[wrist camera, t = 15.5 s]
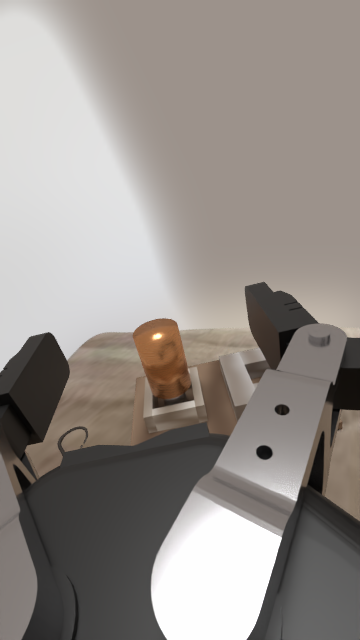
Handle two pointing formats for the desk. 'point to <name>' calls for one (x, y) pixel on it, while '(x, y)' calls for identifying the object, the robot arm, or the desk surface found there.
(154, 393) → the copper cup
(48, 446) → the desk surface
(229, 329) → the desk surface
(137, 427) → the tool board
